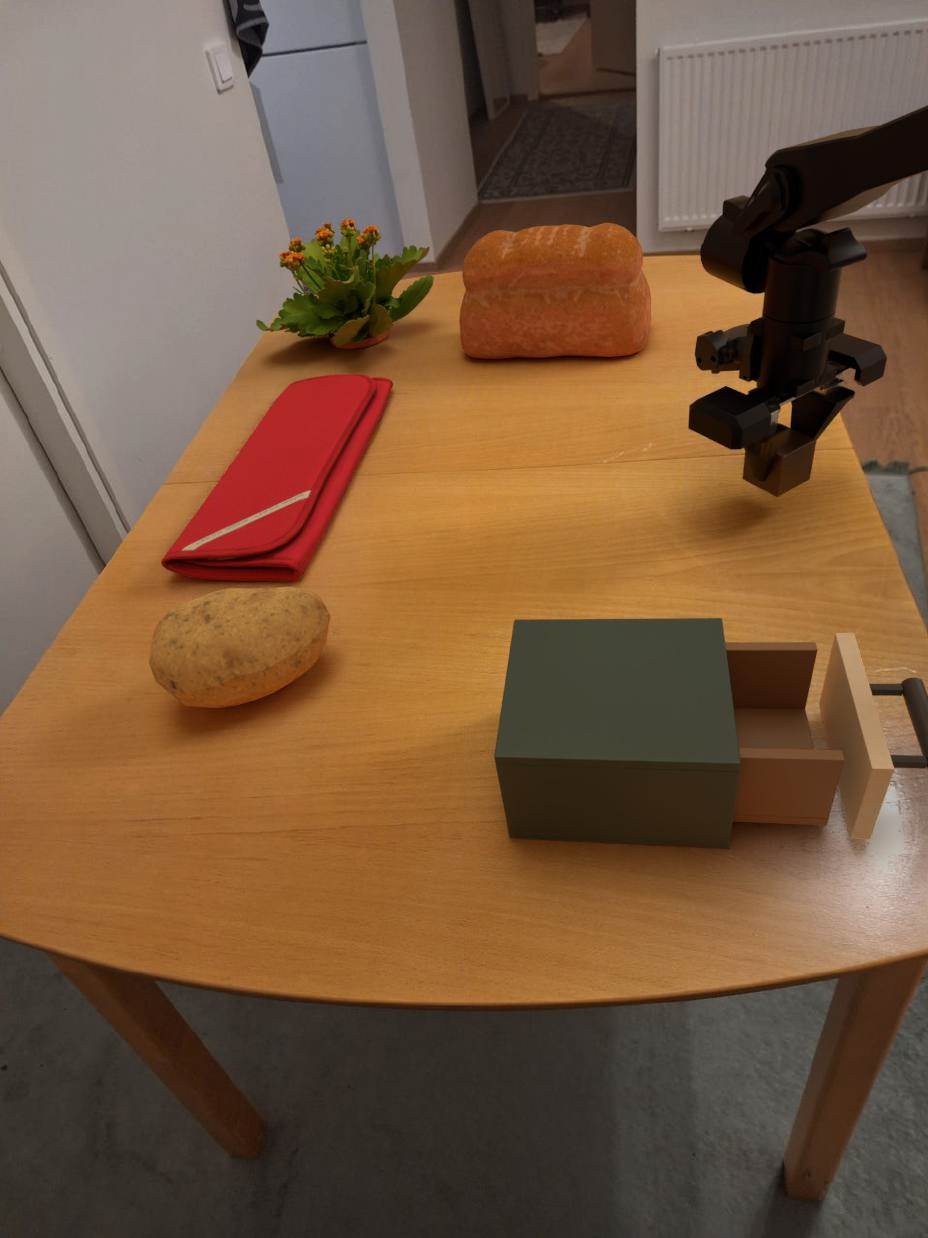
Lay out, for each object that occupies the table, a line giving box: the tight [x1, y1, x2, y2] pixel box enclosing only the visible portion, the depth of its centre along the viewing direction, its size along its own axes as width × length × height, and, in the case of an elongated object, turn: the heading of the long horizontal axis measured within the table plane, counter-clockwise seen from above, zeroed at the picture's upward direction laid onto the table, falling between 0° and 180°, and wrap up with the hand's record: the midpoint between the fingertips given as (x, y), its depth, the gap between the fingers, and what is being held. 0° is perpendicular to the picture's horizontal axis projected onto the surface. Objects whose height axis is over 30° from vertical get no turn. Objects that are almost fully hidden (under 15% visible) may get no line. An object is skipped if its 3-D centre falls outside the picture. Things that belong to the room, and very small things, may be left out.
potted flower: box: [255, 218, 435, 350], centre depth 120 cm, size 25×24×18 cm
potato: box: [148, 586, 331, 709], centre depth 68 cm, size 10×14×10 cm
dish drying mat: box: [160, 373, 394, 583], centre depth 96 cm, size 16×41×4 cm, turn 171°
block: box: [741, 422, 817, 498], centre depth 77 cm, size 4×4×4 cm
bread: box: [458, 222, 652, 360], centre depth 109 cm, size 14×26×15 cm, turn 75°
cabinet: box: [493, 617, 741, 850], centre depth 56 cm, size 15×13×9 cm
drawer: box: [725, 632, 928, 840], centre depth 54 cm, size 18×11×7 cm, turn 82°
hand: (777, 470), depth 77 cm, fingers closed on block, 4 cm apart
